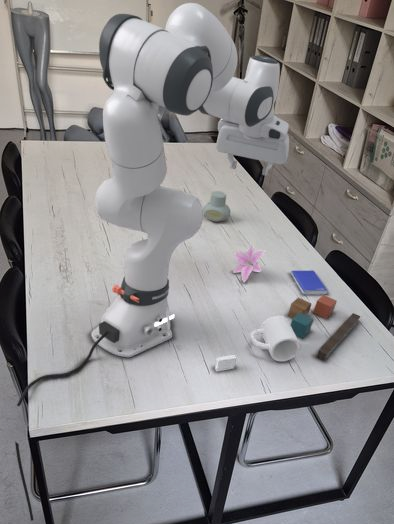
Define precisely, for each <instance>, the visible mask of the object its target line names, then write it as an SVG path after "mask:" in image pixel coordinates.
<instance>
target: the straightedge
mask: <svg viewBox="0 0 394 524" xmlns="http://www.w3.org/2000/svg"><path fill="white" fill-rule="evenodd" d="M360 319H361V315H359V314H357V313H354V312H352V313H351V315H350V316H349V317H347V319H346V320H345V321H344V322H343V323H342V324H341V325H340V326H339V328H337V330H336V331H334V333H333V334H332V335H331V336H330V337H329V338H328V339H327V340H326V341H325V343H324V344H323V345H321V347H320V348H319V349H318V351H317V354H316V358H317V359H319V360H322V361H324V362H325V361H326V360H327V359H328V357H330V355H331V354H332V353H333V352H334V351H335V350H336V348H337V347H338V346H339V345H340V344H341V343H342V341H343V340H345V338H346V337H347V336H348V335H349V334H350V333H351V331H352V330H354V328H355V327H356V326H357V325H358V323H359V321H360Z"/></svg>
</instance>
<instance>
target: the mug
mask: <svg viewBox="0 0 394 524" xmlns="http://www.w3.org/2000/svg"><path fill="white" fill-rule="evenodd" d="M256 335H257V336H258V335H261V336H262V339H263V341H264V342H261V341H259V340H257V339H256V337H255V336H256ZM249 339H250V341H251V343H252V344H253V345H254V346H256V347H257V348H259V349H262V350H267V351H268V352H269V355H270V357H271V358H272V359H273V360H274V361H277V362H287V361H290V360H293V359H294V358H295V357H296V356H298V354H299V353H300V351H301V343H300V341H299V339H298V336H296V335H295V333H294V331H293V329H292V327H291V322H289V319H287V318H286V317H285V316H283V315H273V316H270V317H268V318H267V319H265V320H264V321H263V323H262V324H261V326H260V328H257V329H254V330H252V331H251V332H250V334H249Z"/></svg>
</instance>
